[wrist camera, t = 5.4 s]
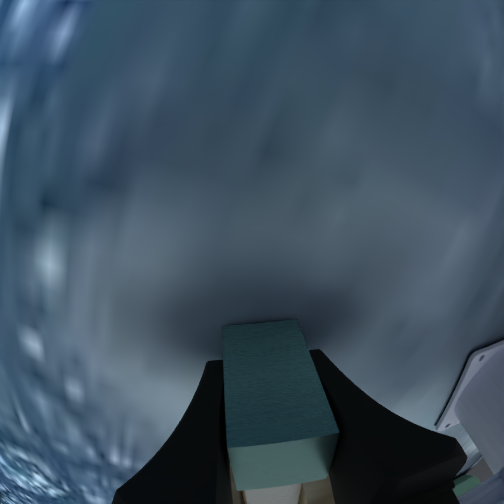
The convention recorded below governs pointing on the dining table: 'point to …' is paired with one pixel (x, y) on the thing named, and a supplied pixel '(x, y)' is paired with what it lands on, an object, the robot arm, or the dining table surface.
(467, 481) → the pale green rod
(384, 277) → the dining table surface
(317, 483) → the cradle
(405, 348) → the dining table surface
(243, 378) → the shaft
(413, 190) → the dining table surface
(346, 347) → the dining table surface
